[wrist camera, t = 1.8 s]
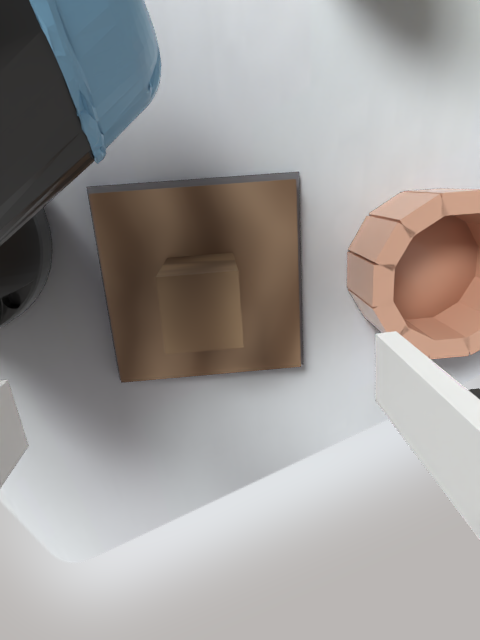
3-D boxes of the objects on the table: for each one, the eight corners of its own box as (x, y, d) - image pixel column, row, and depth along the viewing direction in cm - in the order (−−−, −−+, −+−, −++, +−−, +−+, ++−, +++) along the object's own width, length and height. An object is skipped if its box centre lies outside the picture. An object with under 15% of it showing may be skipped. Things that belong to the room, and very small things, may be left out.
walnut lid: (124, 374, 36) (100, 429, 28) (94, 193, 32) (54, 197, 24) (297, 359, 37) (321, 408, 29) (292, 179, 32) (319, 177, 24)
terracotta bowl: (346, 336, 37) (370, 364, 32) (348, 195, 34) (375, 197, 28) (479, 325, 38) (526, 350, 32) (495, 184, 34) (552, 184, 28)
